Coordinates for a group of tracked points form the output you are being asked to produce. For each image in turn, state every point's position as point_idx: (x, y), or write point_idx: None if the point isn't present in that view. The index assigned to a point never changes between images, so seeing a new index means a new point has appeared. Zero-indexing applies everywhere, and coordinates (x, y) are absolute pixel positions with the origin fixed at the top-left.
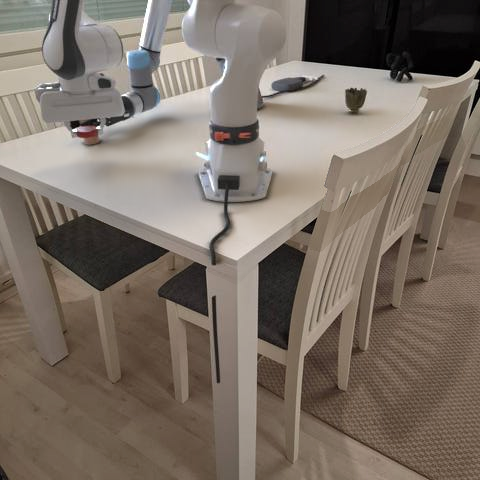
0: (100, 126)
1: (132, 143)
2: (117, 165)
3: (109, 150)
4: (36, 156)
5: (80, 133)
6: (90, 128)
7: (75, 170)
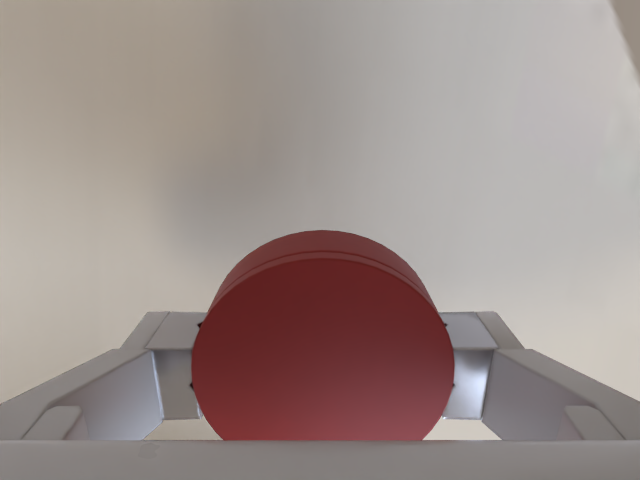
0: (139, 389)
1: None
2: (170, 179)
3: None
4: None
5: (413, 280)
6: (273, 376)
7: (431, 201)
